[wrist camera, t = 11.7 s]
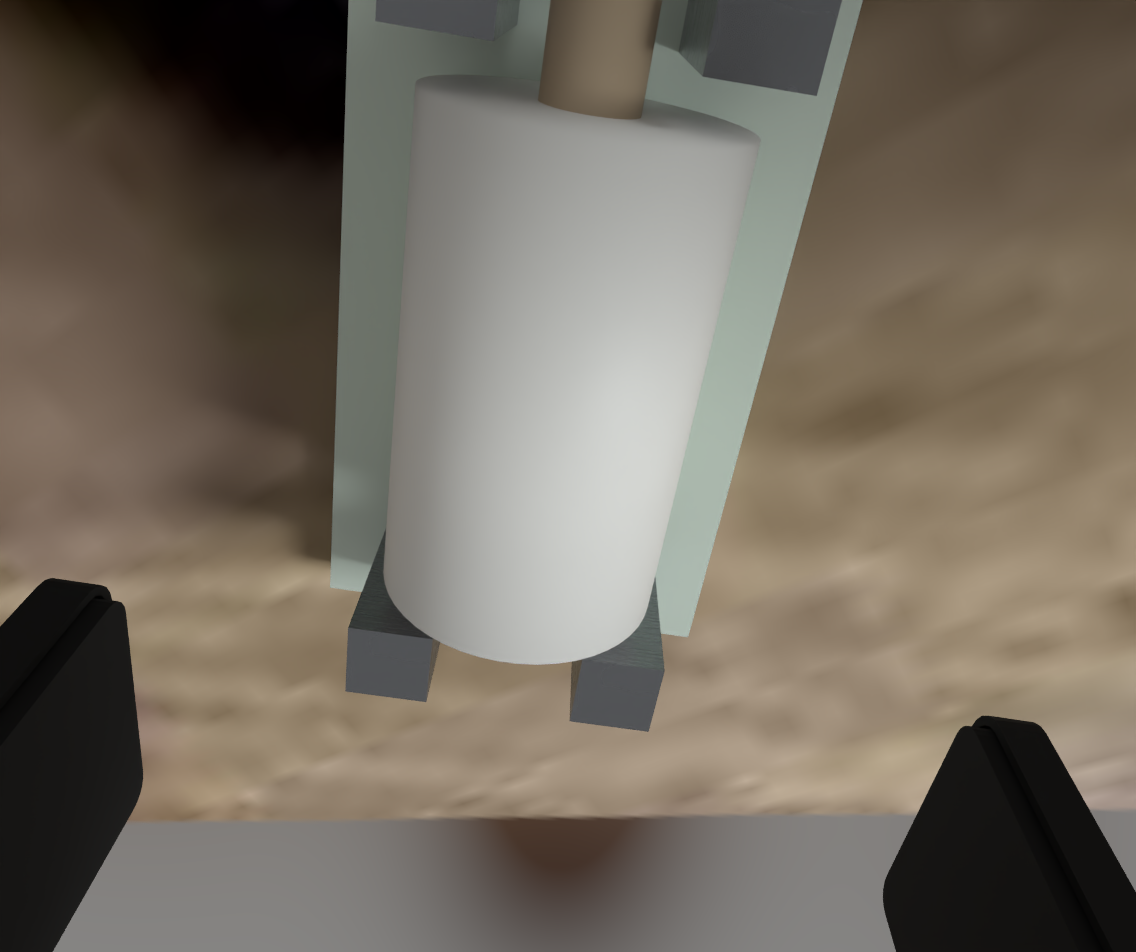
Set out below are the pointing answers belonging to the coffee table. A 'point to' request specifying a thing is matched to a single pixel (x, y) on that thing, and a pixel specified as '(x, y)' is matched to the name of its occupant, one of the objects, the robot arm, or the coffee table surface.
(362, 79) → the roll holder
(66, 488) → the coffee table surface
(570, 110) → the paper roll
